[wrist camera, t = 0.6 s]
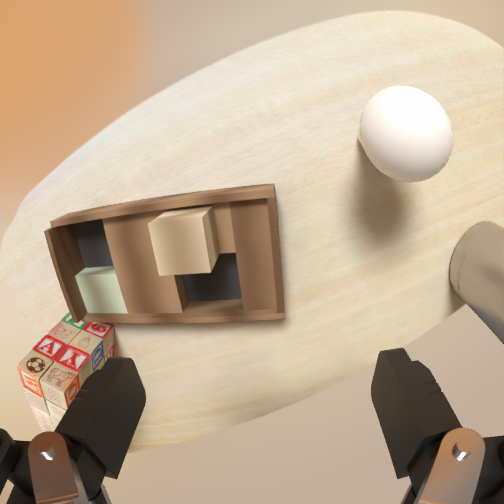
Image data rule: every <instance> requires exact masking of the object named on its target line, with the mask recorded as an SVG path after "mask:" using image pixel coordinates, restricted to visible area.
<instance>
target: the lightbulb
mask: <svg viewBox="0 0 504 504" xmlns="http://www.w3.org/2000/svg"><path fill="white" fill-rule="evenodd" d="M358 139H359V141H360V143H361V144H362V146H363V149H364V151H365V153H366V155H367V157H368V158H369V159H370V161H371V162H372V163H373V164H374V166H375V167H376V168H377V169H378V170H380V171H381V172H382V173H383V174H385V175H387V176H388V177H390V178H393V179H396V180H399V181H402V182H418V181H423V180H426V179H429V178H431V177H432V176H434V175H435V174H437V173H438V172H439V171H440V170H441V169H442V168H443V167H444V166H445V164H446V163H447V161H448V159H449V156H450V154H451V150H452V146H453V133H452V127H451V124H450V121H449V118H448V116H447V114H446V112H445V111H444V109H443V108H442V106H441V105H440V104H439V103H438V102H437V101H436V100H435V99H434V98H433V97H432V96H430V95H429V94H427V93H425V92H423V91H421V90H419V89H417V88H413V87H409V86H394V87H389V88H386V89H384V90H382V91H380V92H378V93H377V94H376V95H374V96H373V97H372V98H371V99H370V100H369V102H368V103H367V105H366V106H365V108H364V111H363V113H362V115H361V120H360V126H359V129H358Z"/></svg>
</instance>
